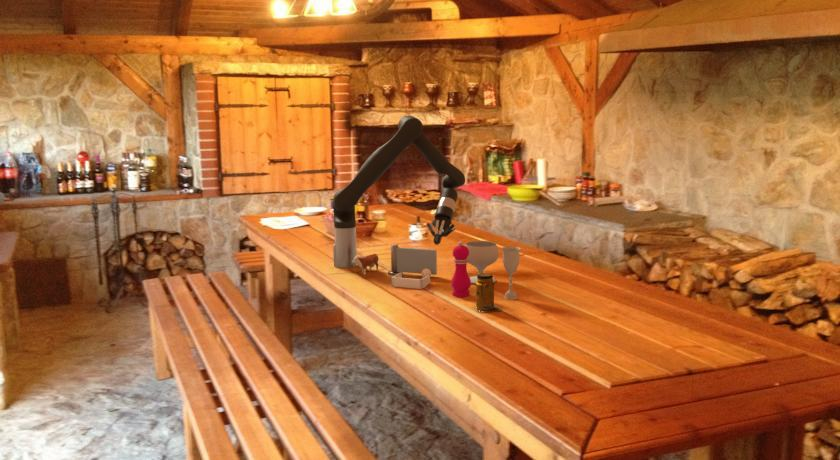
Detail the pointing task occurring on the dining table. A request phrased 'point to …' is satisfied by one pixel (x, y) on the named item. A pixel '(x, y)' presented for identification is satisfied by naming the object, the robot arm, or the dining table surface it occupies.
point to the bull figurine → (366, 262)
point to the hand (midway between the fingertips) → (436, 243)
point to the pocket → (409, 281)
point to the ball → (425, 272)
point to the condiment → (485, 293)
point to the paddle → (413, 260)
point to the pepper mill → (461, 272)
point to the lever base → (392, 273)
